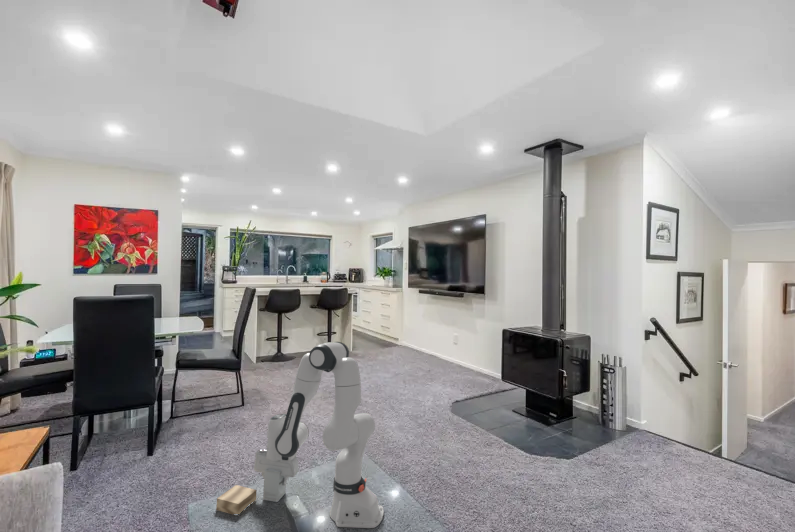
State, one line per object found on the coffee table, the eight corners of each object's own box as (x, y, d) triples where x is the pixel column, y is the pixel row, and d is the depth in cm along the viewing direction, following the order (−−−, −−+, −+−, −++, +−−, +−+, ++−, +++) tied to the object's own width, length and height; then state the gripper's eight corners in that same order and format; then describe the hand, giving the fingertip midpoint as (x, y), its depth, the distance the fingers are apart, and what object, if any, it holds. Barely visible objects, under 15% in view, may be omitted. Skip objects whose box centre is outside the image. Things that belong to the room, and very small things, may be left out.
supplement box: (277, 502, 159) (279, 472, 160) (262, 499, 161) (263, 470, 161) (286, 493, 166) (287, 464, 167) (271, 490, 168) (272, 462, 168)
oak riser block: (255, 501, 160) (256, 489, 160) (237, 516, 149) (238, 504, 149) (235, 496, 163) (235, 484, 163) (216, 510, 153) (216, 498, 153)
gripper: (251, 452, 163) (250, 483, 163) (293, 457, 159) (292, 490, 159) (259, 446, 170) (258, 476, 169) (300, 451, 165) (299, 482, 165)
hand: (275, 483), depth 164 cm, fingers closed on supplement box, 7 cm apart
